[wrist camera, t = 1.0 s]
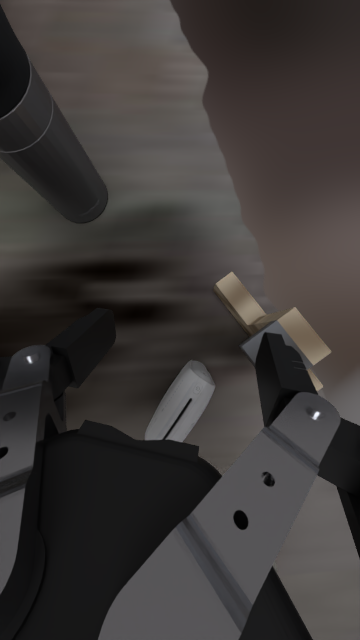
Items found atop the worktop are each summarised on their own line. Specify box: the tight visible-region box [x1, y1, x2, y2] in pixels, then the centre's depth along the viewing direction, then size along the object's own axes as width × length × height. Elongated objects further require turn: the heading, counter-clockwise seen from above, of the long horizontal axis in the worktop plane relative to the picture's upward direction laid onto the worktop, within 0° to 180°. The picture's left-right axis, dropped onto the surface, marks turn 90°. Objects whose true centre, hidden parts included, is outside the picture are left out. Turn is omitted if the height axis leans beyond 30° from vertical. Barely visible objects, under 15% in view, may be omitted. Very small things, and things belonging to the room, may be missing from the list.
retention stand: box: [213, 272, 331, 391], centre depth 26 cm, size 20×7×14 cm, turn 36°
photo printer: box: [145, 360, 215, 442], centre depth 27 cm, size 10×4×12 cm, turn 145°
